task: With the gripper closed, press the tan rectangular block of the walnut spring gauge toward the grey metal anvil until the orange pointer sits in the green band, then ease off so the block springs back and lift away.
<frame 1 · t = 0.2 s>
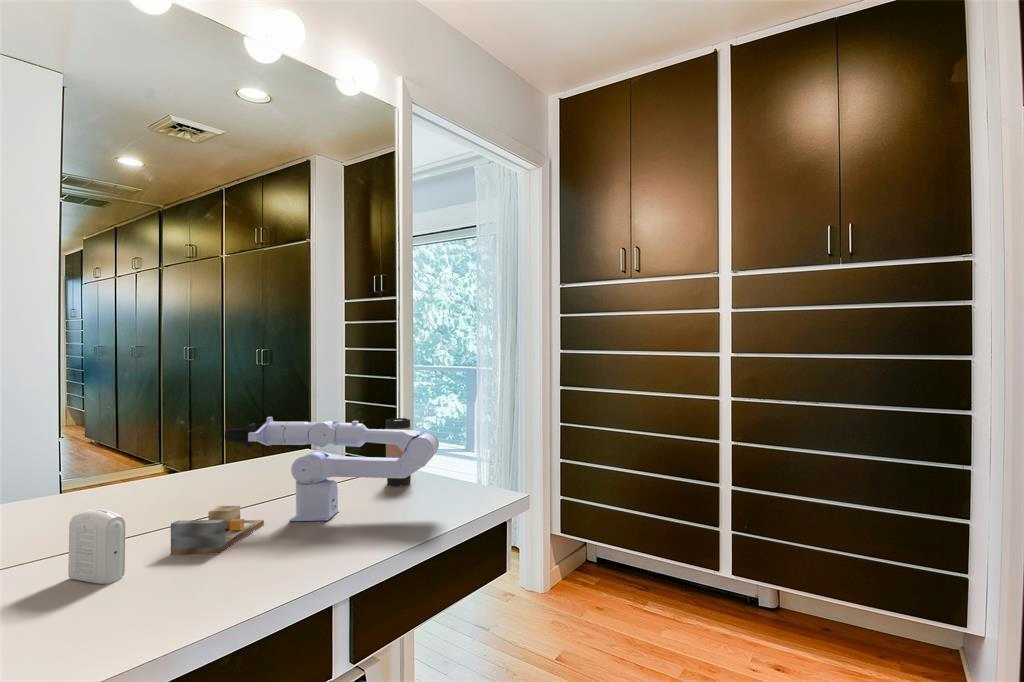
hand: (234, 433, 129), 21 cm above the counter, tool horizontal, fingers open, 7 cm apart
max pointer: (236, 524, 114), point 3 cm above the counter, slide at 0.0 cm
travel mug: (399, 484, 161), on the counter
tan rectangular block: (230, 517, 117), point 3 cm above the counter, slide at 0.0 cm
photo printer: (96, 579, 93), on the counter
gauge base: (220, 538, 113), on the counter
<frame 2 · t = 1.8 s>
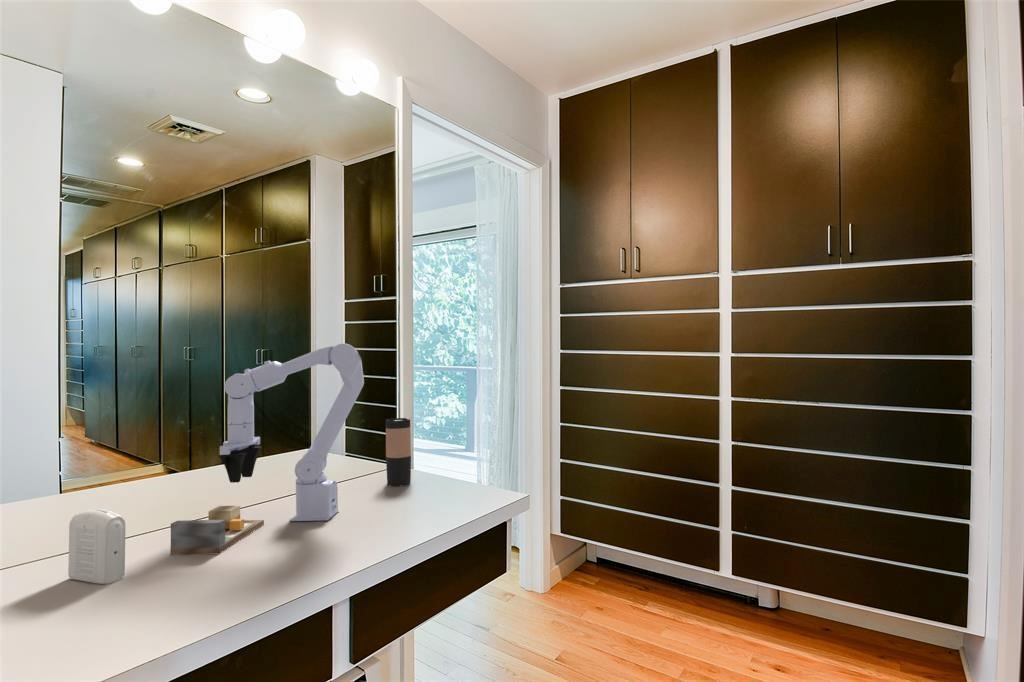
hand: (241, 479, 124), 10 cm above the counter, tool pointing down, fingers open, 5 cm apart
nothing on the counter moved.
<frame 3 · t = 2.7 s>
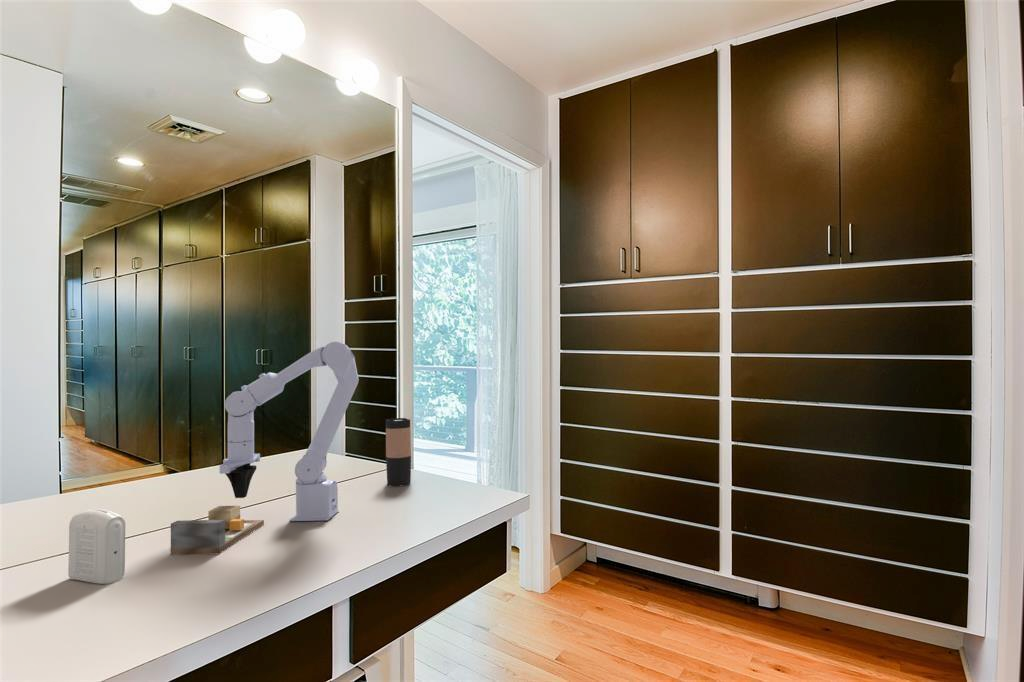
hand: (240, 497, 124), 6 cm above the counter, tool pointing down, fingers closed
nothing on the counter moved.
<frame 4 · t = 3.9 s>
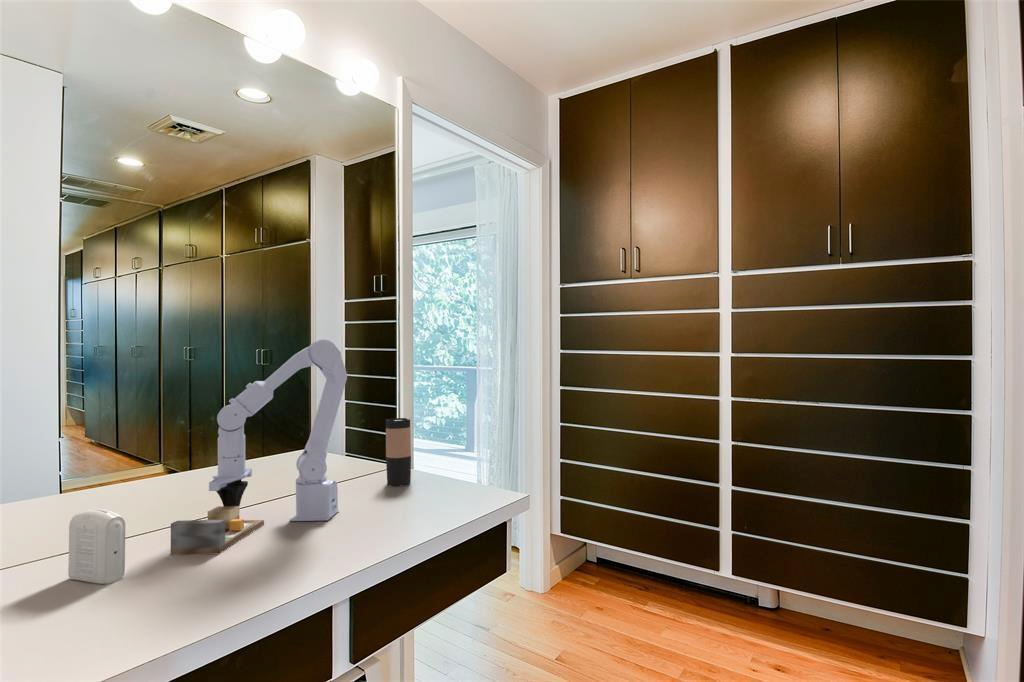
hand: (231, 514, 120), 3 cm above the counter, tool pointing down, fingers closed
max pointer: (236, 524, 114), point 3 cm above the counter, slide at 0.0 cm, touching tan rectangular block
tan rectangular block: (229, 517, 117), point 3 cm above the counter, slide at 0.3 cm, touching gripper, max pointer
everything else where it was.
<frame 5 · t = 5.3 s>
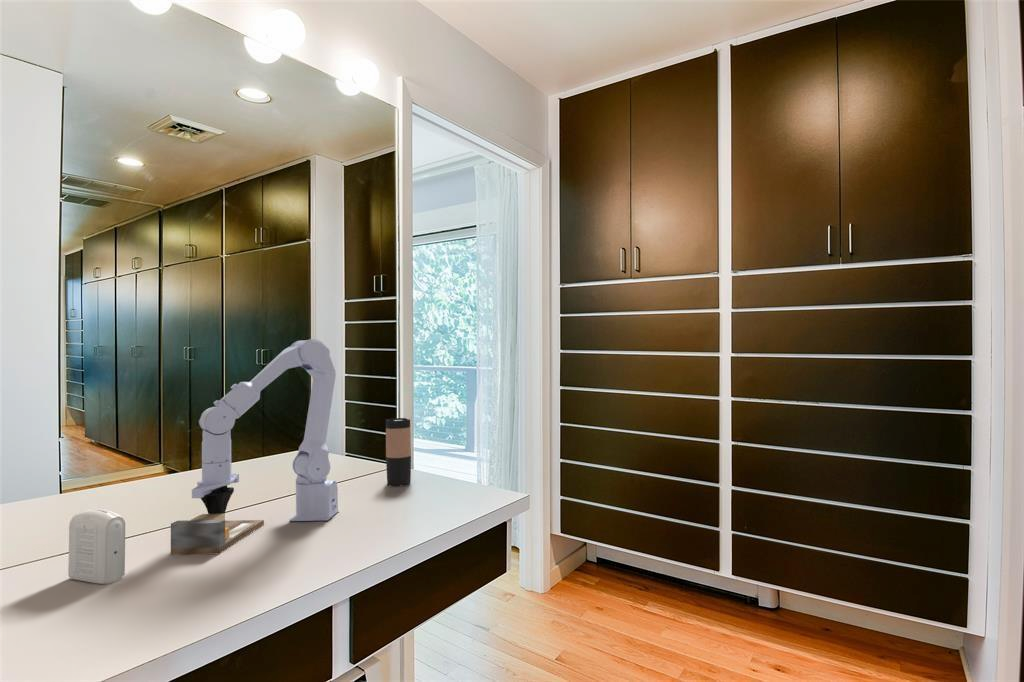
hand: (216, 522, 114), 3 cm above the counter, tool pointing down, fingers closed
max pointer: (221, 533, 108), point 3 cm above the counter, slide at 5.9 cm, touching tan rectangular block
tan rectangular block: (214, 525, 111), point 3 cm above the counter, slide at 6.2 cm, touching gripper, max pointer
everything else where it was.
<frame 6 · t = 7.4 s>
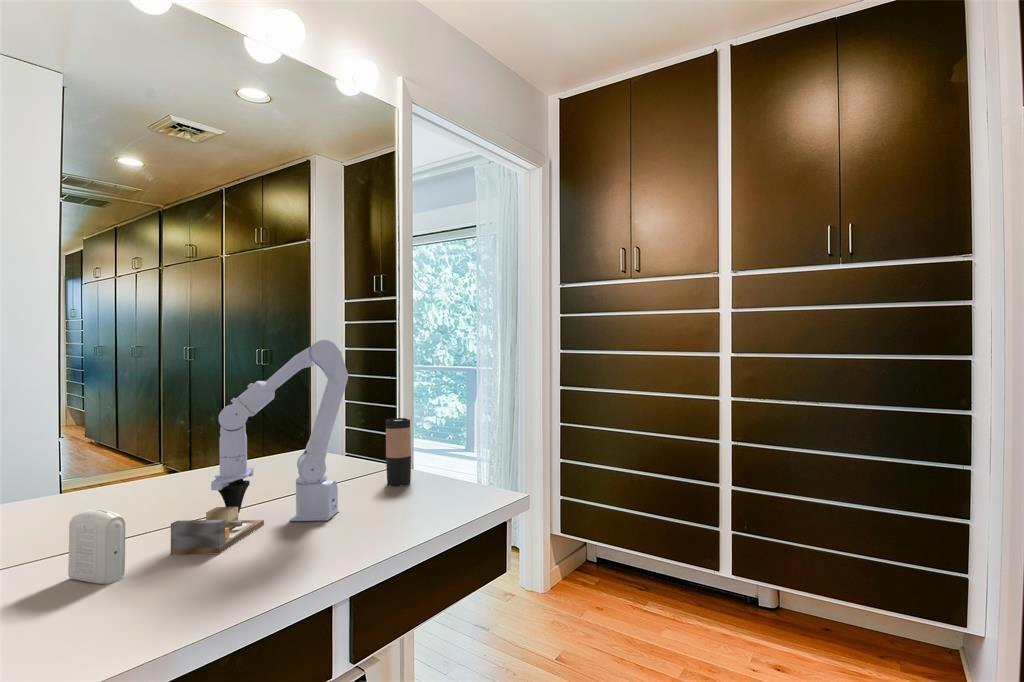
hand: (233, 513, 121), 3 cm above the counter, tool pointing down, fingers closed
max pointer: (221, 533, 108), point 3 cm above the counter, slide at 5.9 cm
tan rectangular block: (228, 518, 116), point 3 cm above the counter, slide at 0.9 cm
everything else where it was.
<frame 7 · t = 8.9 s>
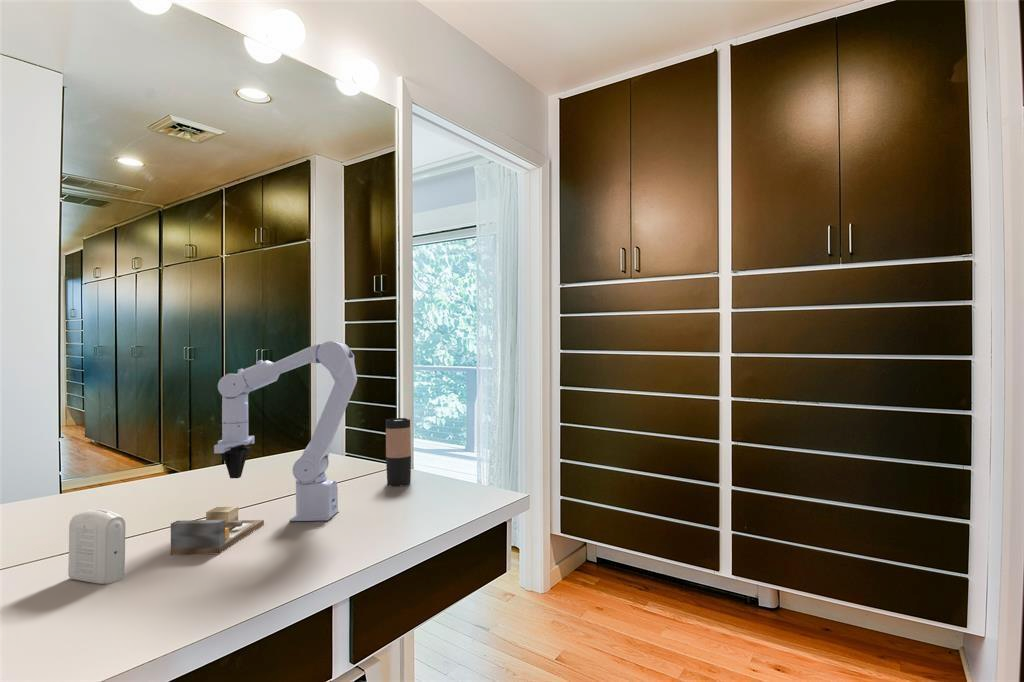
hand: (235, 477, 126), 10 cm above the counter, tool pointing down, fingers closed
nothing on the counter moved.
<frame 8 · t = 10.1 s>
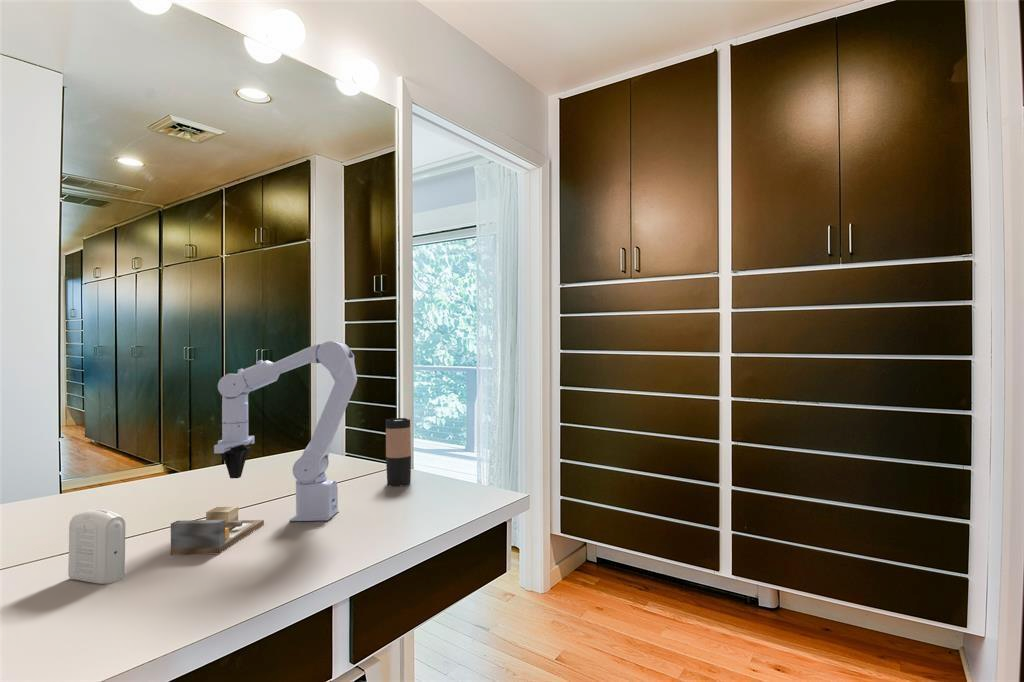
hand: (235, 477, 126), 10 cm above the counter, tool pointing down, fingers closed
nothing on the counter moved.
at the end: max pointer slide at 5.9 cm; tan rectangular block slide at 0.9 cm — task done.
